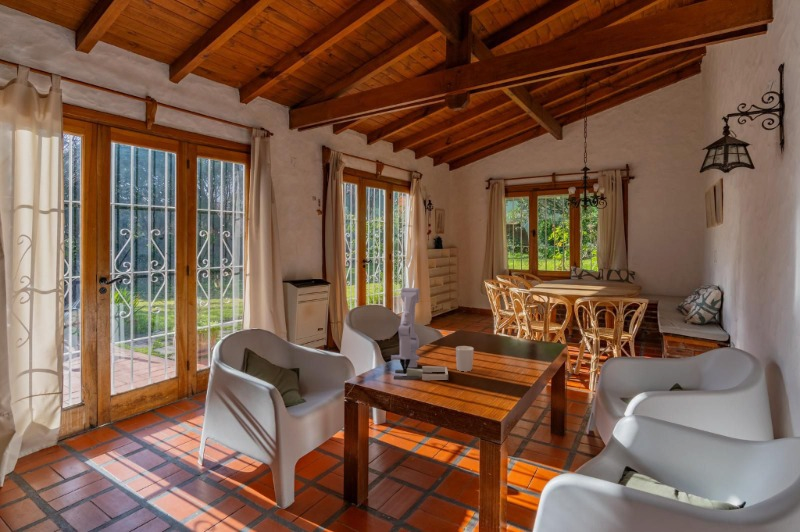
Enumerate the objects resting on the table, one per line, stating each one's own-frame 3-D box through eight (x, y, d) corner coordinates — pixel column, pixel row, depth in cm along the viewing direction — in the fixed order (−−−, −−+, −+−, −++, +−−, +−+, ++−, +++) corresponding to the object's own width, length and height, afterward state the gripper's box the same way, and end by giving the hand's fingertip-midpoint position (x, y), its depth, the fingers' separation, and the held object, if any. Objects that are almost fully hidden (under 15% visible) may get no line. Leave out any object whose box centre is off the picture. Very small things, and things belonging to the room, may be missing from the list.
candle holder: (452, 368, 237) (452, 346, 236) (467, 366, 240) (468, 345, 240) (460, 373, 228) (461, 351, 227) (476, 371, 231) (477, 349, 231)
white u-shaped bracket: (422, 371, 230) (422, 366, 230) (446, 372, 230) (446, 366, 230) (422, 380, 216) (422, 374, 216) (448, 380, 216) (448, 375, 216)
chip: (414, 374, 225) (414, 369, 225) (422, 374, 225) (422, 369, 225) (414, 377, 221) (414, 371, 221) (422, 377, 221) (422, 371, 221)
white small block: (407, 374, 226) (407, 368, 226) (414, 374, 226) (414, 369, 225) (406, 376, 222) (407, 371, 222) (414, 377, 222) (414, 371, 221)
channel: (395, 371, 230) (395, 369, 230) (419, 372, 229) (419, 370, 229) (393, 379, 218) (393, 376, 218) (419, 379, 218) (419, 377, 217)
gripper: (390, 349, 219) (390, 375, 220) (418, 349, 219) (418, 376, 219) (391, 346, 226) (391, 371, 227) (419, 346, 226) (418, 371, 226)
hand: (405, 373), depth 224 cm, fingers closed
